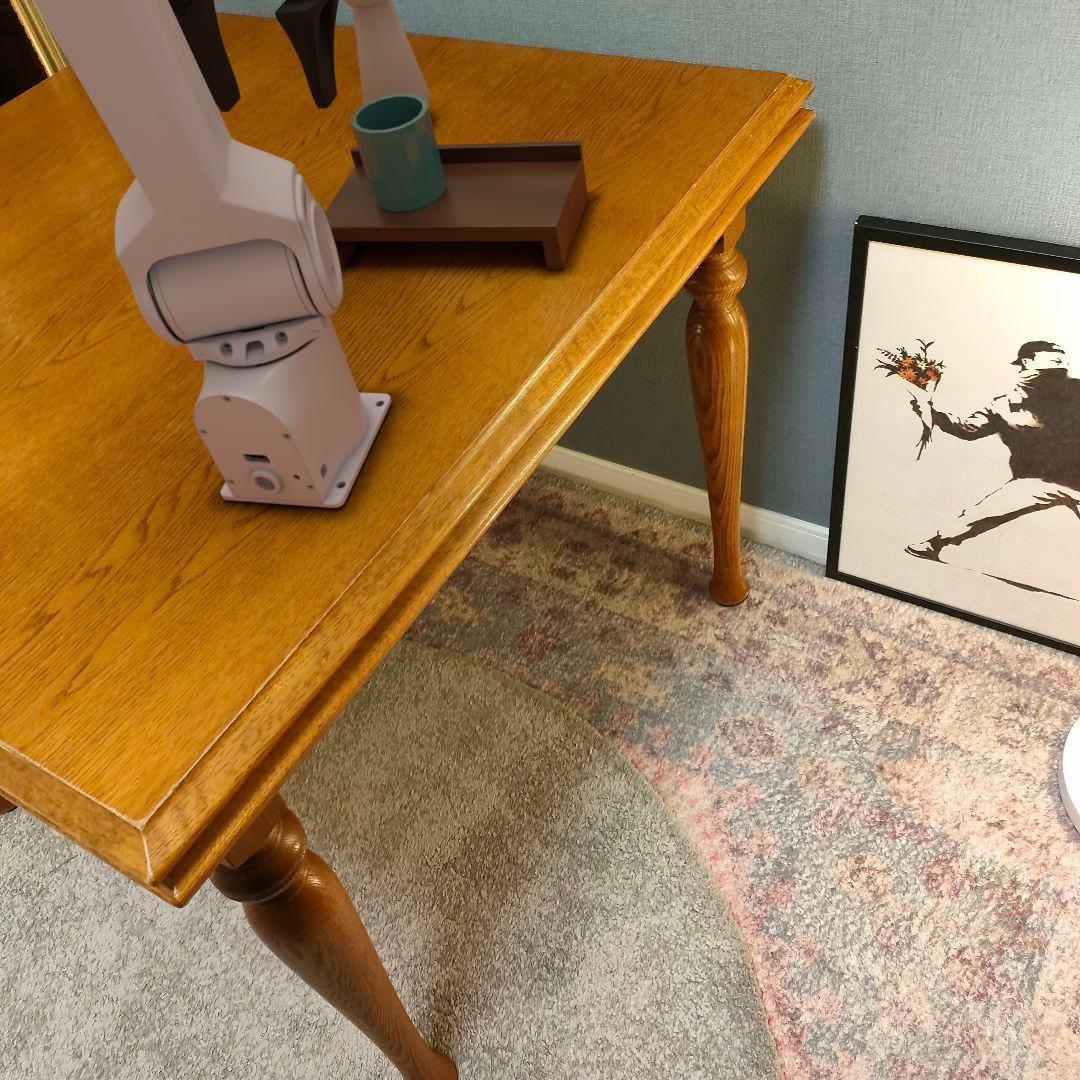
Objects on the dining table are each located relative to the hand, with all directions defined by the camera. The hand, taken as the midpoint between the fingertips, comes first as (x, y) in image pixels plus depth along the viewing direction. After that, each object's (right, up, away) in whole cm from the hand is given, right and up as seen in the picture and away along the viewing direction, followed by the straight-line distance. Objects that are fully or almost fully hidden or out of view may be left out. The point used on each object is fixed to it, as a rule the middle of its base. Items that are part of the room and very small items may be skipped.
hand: (278, 103), depth 70 cm
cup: (+9, -5, +3) cm, 11 cm away
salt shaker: (+6, +5, +18) cm, 19 cm away
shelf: (+12, -8, +5) cm, 15 cm away
